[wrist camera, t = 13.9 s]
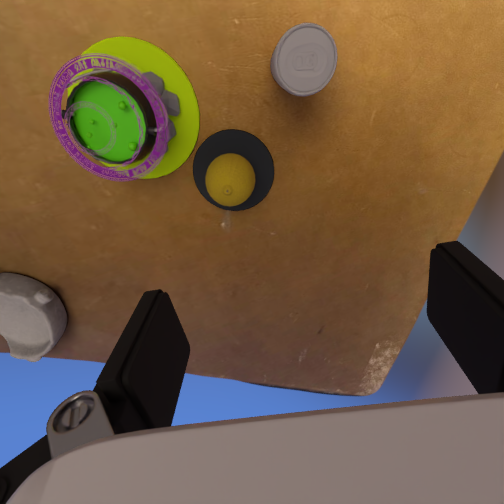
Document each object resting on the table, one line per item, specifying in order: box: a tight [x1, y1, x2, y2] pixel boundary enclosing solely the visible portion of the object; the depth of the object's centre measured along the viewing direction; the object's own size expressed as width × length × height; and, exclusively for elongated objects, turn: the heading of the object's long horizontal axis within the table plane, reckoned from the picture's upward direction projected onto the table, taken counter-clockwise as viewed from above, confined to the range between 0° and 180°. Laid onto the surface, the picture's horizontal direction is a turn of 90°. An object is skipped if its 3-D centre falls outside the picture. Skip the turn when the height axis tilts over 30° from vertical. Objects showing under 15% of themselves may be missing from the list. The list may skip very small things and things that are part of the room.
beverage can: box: [270, 23, 337, 97], centre depth 29 cm, size 5×5×12 cm
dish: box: [0, 273, 67, 362], centre depth 49 cm, size 14×14×5 cm
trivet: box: [193, 129, 274, 211], centre depth 39 cm, size 10×10×1 cm
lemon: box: [205, 153, 255, 206], centre depth 36 cm, size 6×6×8 cm
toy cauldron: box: [49, 36, 200, 181], centre depth 32 cm, size 15×15×11 cm
